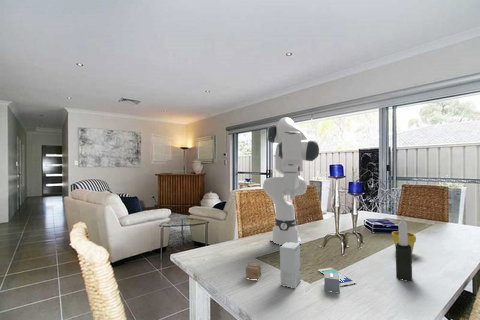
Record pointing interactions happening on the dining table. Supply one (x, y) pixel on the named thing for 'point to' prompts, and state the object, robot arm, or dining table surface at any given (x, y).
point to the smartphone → (331, 270)
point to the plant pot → (410, 238)
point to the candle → (403, 254)
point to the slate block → (331, 282)
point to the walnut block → (253, 271)
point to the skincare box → (290, 264)
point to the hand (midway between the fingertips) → (292, 199)
